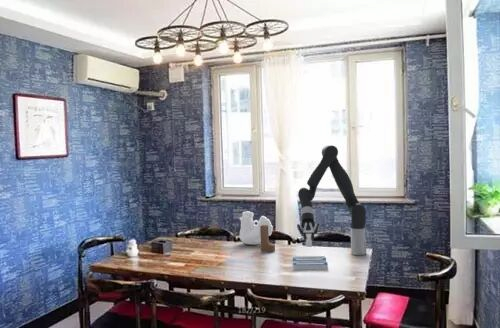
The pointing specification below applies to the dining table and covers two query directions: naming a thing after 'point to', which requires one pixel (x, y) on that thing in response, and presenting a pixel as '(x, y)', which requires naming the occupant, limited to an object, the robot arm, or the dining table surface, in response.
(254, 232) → the decorative rooster
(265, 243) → the wooden block
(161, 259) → the dining table surface
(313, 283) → the dining table surface
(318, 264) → the duct
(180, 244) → the dining table surface
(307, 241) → the cord plug
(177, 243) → the dining table surface
